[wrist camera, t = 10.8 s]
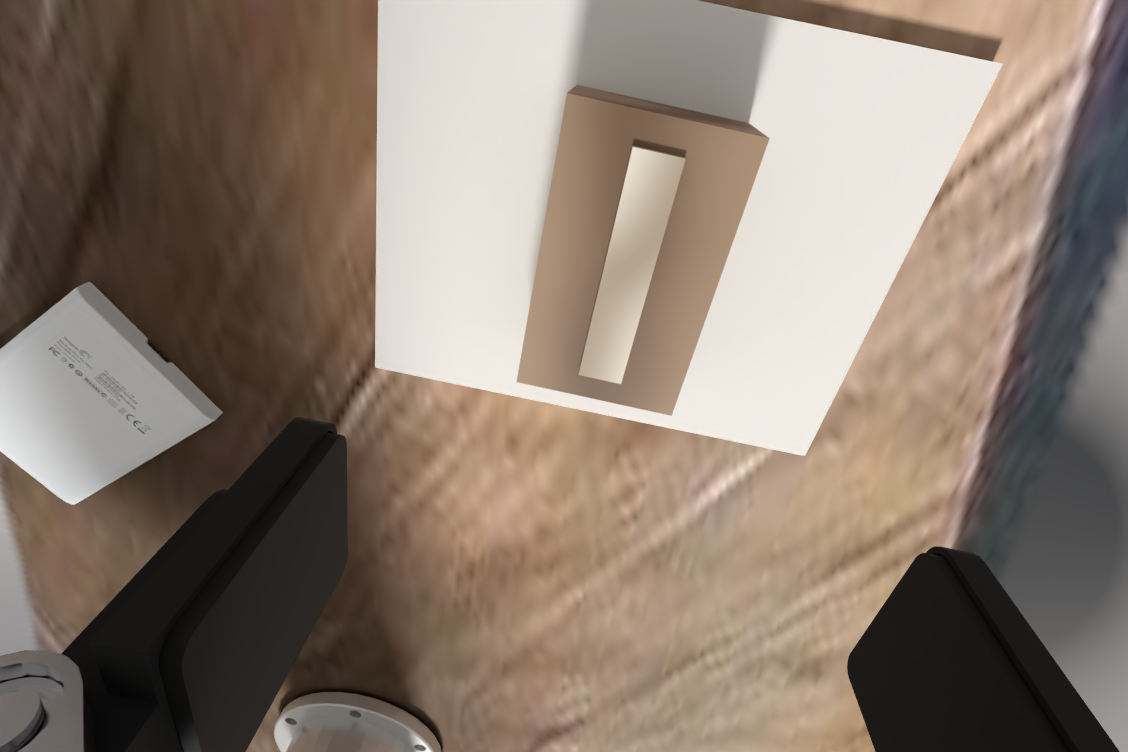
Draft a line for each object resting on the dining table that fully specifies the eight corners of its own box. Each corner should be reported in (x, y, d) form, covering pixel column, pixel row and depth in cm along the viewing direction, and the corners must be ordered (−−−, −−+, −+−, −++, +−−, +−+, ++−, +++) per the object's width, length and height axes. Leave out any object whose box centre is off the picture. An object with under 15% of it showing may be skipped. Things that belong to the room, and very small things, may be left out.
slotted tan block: (748, 123, 20) (770, 139, 16) (666, 370, 25) (672, 418, 22) (576, 84, 20) (566, 93, 16) (530, 340, 25) (515, 384, 22)
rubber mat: (801, 448, 27) (804, 456, 26) (380, 361, 27) (375, 367, 26) (992, 62, 19) (1003, 63, 18) (385, -64, 19) (378, -66, 18)
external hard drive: (-34, 384, 31) (99, 276, 27) (94, 488, 34) (231, 406, 30) (-65, 400, 30) (69, 289, 25) (71, 508, 33) (211, 425, 28)
